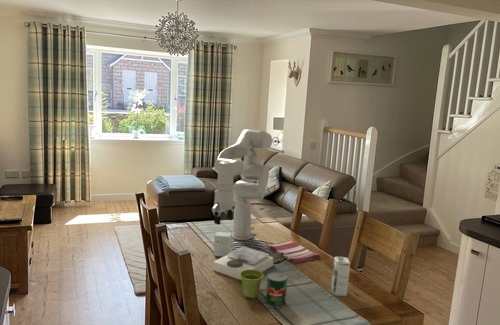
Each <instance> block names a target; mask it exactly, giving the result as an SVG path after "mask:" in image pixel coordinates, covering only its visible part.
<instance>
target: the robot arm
mask: <svg viewBox="0 0 500 325" xmlns="http://www.w3.org/2000/svg"><path fill="white" fill-rule="evenodd" d="M272 145H273V138H272V135H271V134H270V133H268V132H267V131H265V130H262V129H251V128H250V129H249V128H247V129H243V130H242V131H240V133H239V135H238V137H237V139H236V140H235V143H234V144H233V145H231V146H229V147H228V146H227V148H225V149H223V150H222V151H221V152H219V153H218V154H219V155H218V156H217V158H216V160H215V162H214V171H215V172H216V173H217V185H216V186H217V187H216V189H217V190H216V192H215V193H214V194H215V195H214V202H213V207H211V211H212V214H213V216H214V219H213V221H214V222H213V223H214V224H216V225H221V215H222V213H223V212H226V219H227V220H228V221H233V225H232V226H233V227H232V232H230V233H232V240H238V241H247V240H251V239H252V238H254V234H253V233H252V231H253V230H255V227H254V226H253V225H252V224H251V222H252V202H251V201H250V200H254V201H261V200H263V199H264V198H265V195H266V190H267V186H268V183H269V178H270V177H269V176H270V168H269V167H268V166H267V165H265V164H259V162H260V155H259V153H258V152H257V150H256V149H265V150H268V149H270V148H271V147H272ZM240 158H243V161H241V160H239V159H240ZM234 176H239V177H240V178H241V179H242V180H241V179H240V180H237V181H235V182H234ZM251 225H252V226H251Z"/></svg>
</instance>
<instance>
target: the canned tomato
mask: <svg viewBox="0 0 500 325" xmlns="http://www.w3.org/2000/svg"><path fill="white" fill-rule="evenodd" d="M287 286H288V275H287V274H286V273H285V272H283V271H270V272H268V273H267V274H266V286H265V287H266V288H265V302H264V303H265V305H267V306H268V305H269V306H268V307H270V306H271V307H270V308H273V307H281V308H283V307H285V306H286V304H287V302H286V301H287V290H288V287H287ZM284 305H285V306H284Z"/></svg>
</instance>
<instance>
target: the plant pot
mask: <svg viewBox="0 0 500 325" xmlns="http://www.w3.org/2000/svg"><path fill="white" fill-rule="evenodd" d="M240 277H241V280H240V281H241V285H242V286H241V287H242V294H243V296H244V297H245V298H249V299H255V298H257V297H258V296H259V294H260V287H261V283H262V280H263V278H264V273H263V272H260V271H258V270H244V271H242V272H240Z"/></svg>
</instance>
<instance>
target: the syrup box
mask: <svg viewBox="0 0 500 325" xmlns="http://www.w3.org/2000/svg"><path fill="white" fill-rule="evenodd" d="M350 269H351V262H350V259H349V258H348V257H344V256H334V258H333V268H332V277H331V285H330V289H331V293H332V295H333V296H340V297H348V287H349V278H350Z"/></svg>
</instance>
